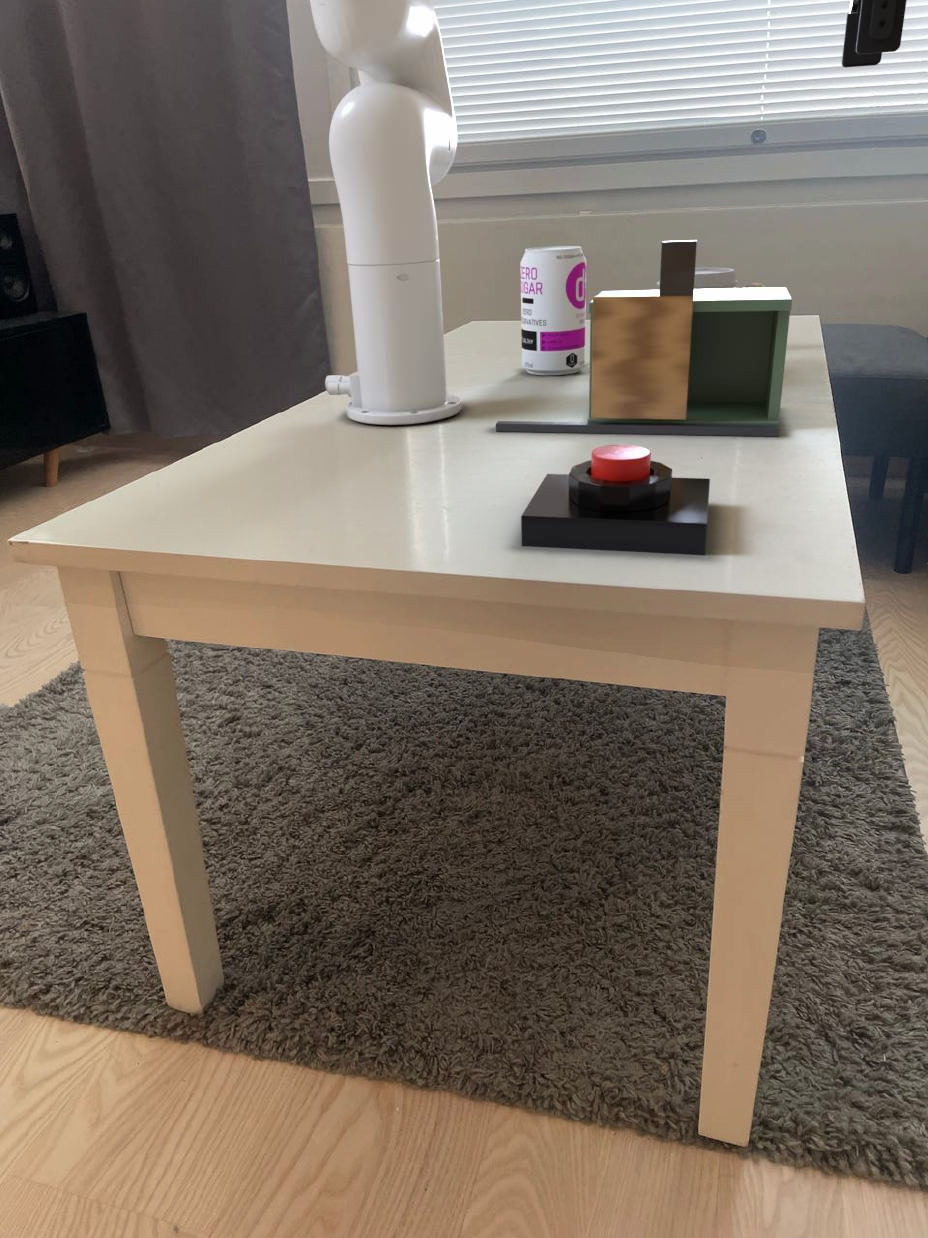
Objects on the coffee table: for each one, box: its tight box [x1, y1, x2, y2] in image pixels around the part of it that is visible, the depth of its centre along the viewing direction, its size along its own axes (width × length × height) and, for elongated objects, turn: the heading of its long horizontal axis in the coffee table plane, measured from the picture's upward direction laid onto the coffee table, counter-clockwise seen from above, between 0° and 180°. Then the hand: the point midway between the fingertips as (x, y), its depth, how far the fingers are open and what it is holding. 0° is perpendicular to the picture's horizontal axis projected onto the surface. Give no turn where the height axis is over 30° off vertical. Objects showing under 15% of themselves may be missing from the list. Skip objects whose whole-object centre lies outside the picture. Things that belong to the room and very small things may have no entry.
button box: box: [520, 459, 711, 556], centre depth 63 cm, size 12×10×4 cm
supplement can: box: [519, 245, 587, 376], centre depth 117 cm, size 8×8×15 cm
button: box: [590, 444, 652, 481], centre depth 62 cm, size 4×4×2 cm
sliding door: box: [591, 239, 698, 420], centre depth 84 cm, size 9×1×16 cm, turn 75°
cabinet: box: [495, 286, 793, 438], centre depth 90 cm, size 27×11×12 cm, turn 75°
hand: (868, 59), depth 76 cm, fingers open, 9 cm apart
